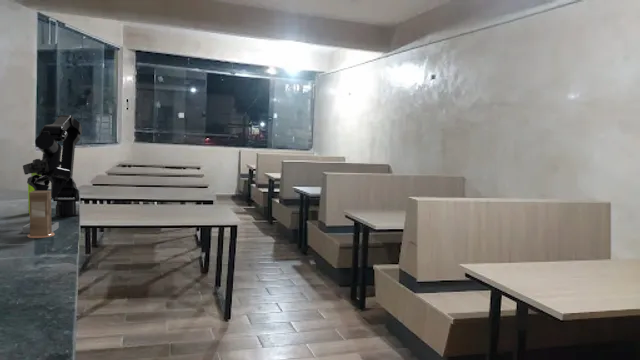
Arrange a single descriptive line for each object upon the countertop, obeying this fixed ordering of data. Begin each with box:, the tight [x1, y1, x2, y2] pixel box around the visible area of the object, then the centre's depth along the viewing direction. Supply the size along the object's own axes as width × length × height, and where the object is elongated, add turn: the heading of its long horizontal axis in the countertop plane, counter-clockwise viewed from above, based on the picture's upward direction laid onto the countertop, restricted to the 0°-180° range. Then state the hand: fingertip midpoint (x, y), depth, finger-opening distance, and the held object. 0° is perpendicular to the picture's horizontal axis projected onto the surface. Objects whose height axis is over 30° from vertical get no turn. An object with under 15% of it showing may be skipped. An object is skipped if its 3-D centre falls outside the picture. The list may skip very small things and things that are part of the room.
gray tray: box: [22, 221, 60, 234], centre depth 162 cm, size 9×9×2 cm
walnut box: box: [29, 190, 53, 236], centre depth 154 cm, size 5×5×14 cm
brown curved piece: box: [27, 231, 55, 239], centre depth 154 cm, size 8×8×1 cm
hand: (46, 200), depth 166 cm, fingers open, 9 cm apart
